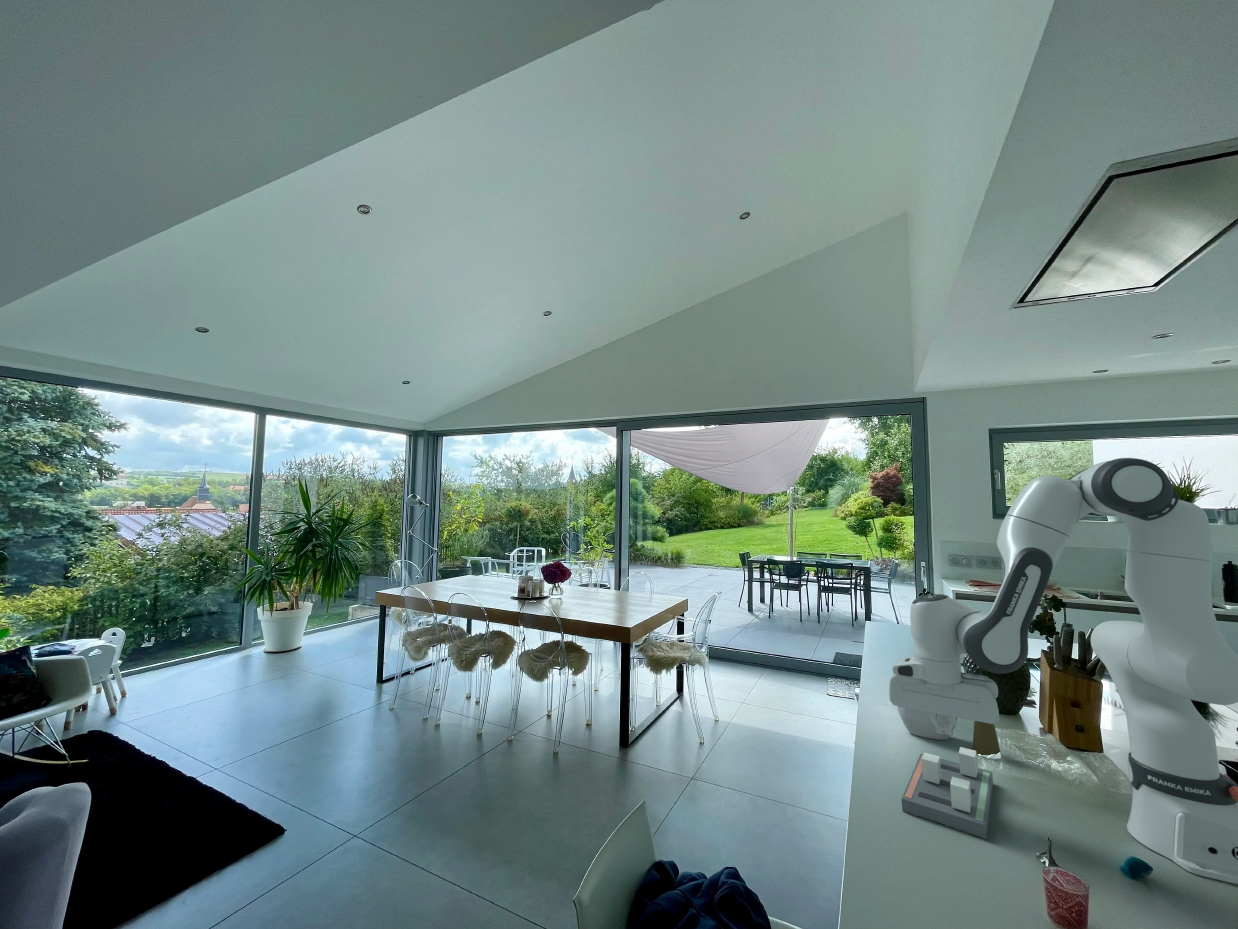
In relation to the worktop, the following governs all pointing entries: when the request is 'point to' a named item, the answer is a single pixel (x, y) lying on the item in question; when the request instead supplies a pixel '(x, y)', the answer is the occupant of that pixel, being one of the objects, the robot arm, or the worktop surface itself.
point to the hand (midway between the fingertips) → (944, 734)
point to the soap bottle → (922, 723)
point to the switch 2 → (960, 794)
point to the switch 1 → (968, 762)
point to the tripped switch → (931, 768)
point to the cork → (985, 739)
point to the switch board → (937, 798)
